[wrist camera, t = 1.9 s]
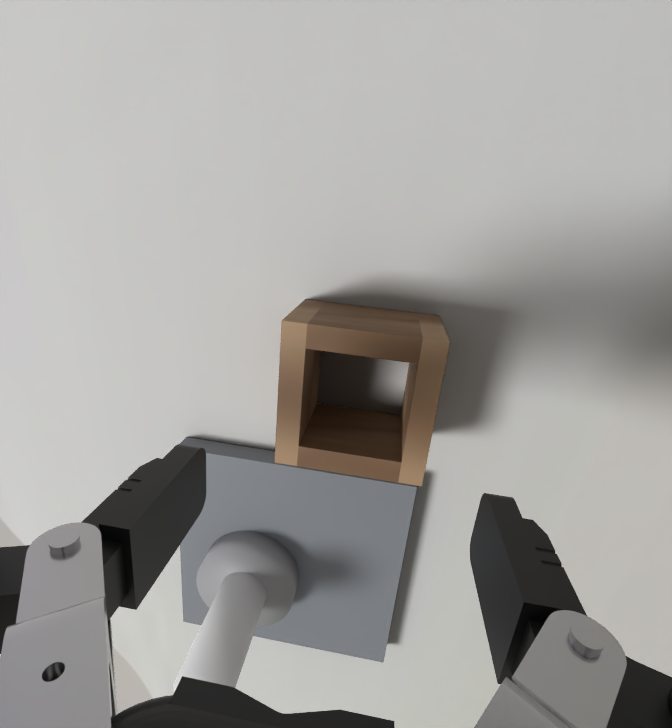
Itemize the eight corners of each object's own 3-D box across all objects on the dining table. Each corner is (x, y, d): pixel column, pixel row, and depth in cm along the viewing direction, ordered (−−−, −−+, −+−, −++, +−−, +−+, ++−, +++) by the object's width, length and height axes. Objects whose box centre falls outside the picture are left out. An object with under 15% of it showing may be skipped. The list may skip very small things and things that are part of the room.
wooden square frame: (305, 299, 20) (281, 320, 16) (439, 315, 20) (450, 342, 16) (297, 417, 22) (274, 462, 18) (417, 435, 22) (421, 486, 18)
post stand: (186, 437, 24) (86, 541, 16) (416, 473, 23) (425, 606, 15) (191, 605, 28) (115, 749, 21) (383, 643, 27) (378, 812, 19)
